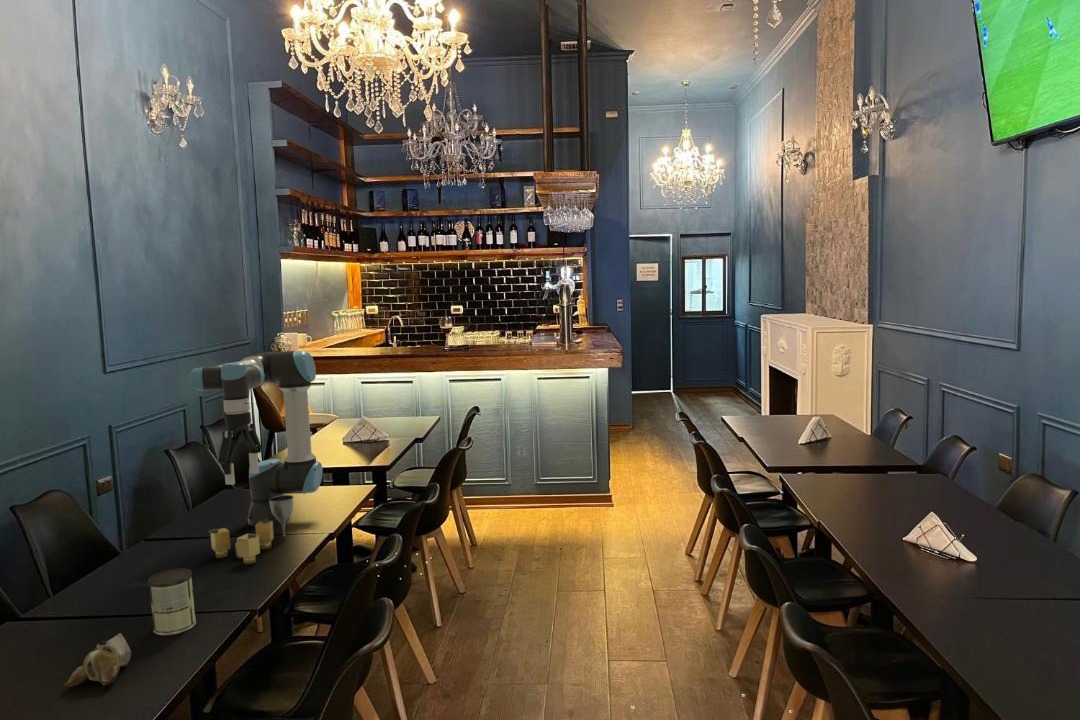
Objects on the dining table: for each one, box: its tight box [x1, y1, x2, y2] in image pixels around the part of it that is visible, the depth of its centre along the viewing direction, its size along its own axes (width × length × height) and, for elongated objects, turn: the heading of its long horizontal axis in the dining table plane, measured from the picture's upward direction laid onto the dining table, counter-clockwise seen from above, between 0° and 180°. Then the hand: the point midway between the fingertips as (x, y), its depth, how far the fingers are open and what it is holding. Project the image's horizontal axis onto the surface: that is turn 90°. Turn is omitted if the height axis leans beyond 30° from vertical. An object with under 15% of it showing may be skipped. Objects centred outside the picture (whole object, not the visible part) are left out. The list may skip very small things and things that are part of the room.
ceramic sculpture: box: [62, 632, 132, 687], centre depth 178 cm, size 11×9×15 cm
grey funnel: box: [269, 494, 295, 537], centre depth 272 cm, size 8×8×15 cm
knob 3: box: [254, 518, 275, 550], centre depth 260 cm, size 6×5×9 cm
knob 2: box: [236, 533, 261, 565], centre depth 246 cm, size 6×5×9 cm
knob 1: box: [208, 527, 231, 559], centre depth 253 cm, size 6×5×9 cm
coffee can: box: [147, 567, 197, 636], centre depth 203 cm, size 10×10×14 cm
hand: (242, 478), depth 244 cm, fingers open, 13 cm apart
